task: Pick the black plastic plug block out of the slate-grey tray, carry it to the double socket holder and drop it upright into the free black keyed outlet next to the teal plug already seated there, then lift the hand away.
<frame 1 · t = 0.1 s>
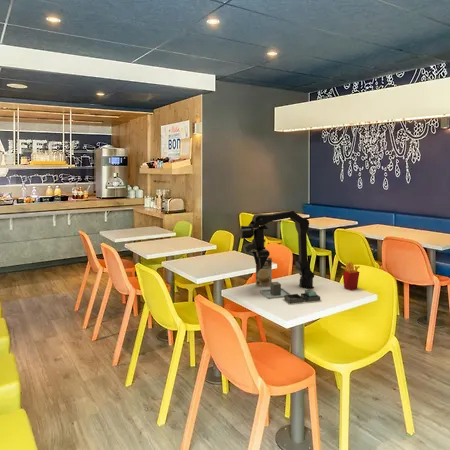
hand: (259, 265, 235), 15 cm above the table, fingers open, 9 cm apart
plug: (275, 294, 230), point 1 cm above the table, touching tray
tray: (275, 295, 230), on the table
double socket holder: (302, 301, 219), on the table
french fries: (348, 288, 241), on the table
coffee box: (263, 286, 248), on the table
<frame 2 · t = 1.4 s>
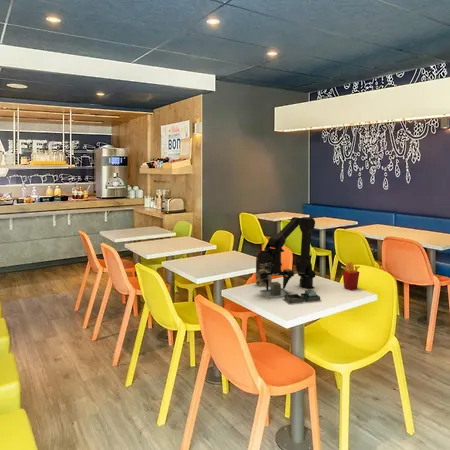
hand: (275, 289, 230), 3 cm above the table, fingers open, 9 cm apart
nothing on the table moved.
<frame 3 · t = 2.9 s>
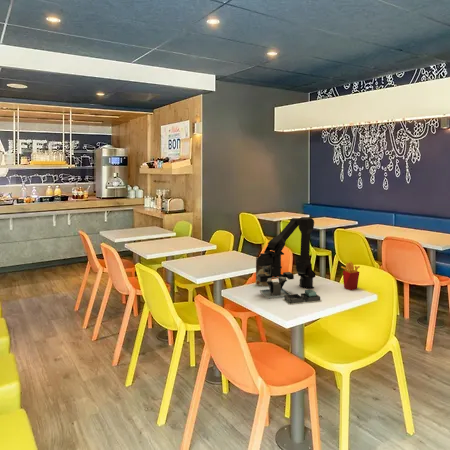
hand: (275, 292, 230), 2 cm above the table, fingers closed on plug, 4 cm apart
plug: (275, 294, 230), point 1 cm above the table, touching gripper, tray
everything else where it was.
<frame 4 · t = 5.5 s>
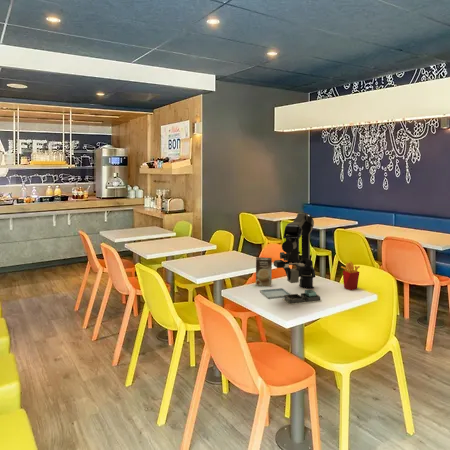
hand: (292, 279, 217), 12 cm above the table, fingers closed on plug, 4 cm apart
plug: (292, 281, 217), point 11 cm above the table, touching gripper
everything else where it was.
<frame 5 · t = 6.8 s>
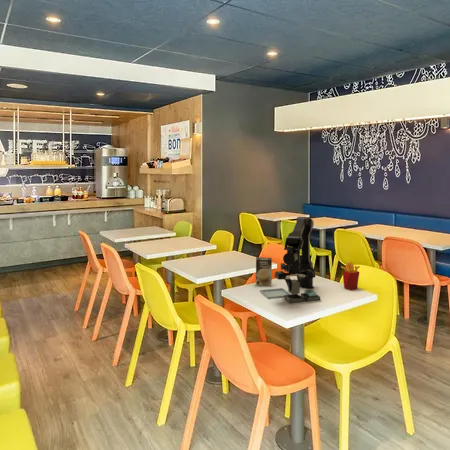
hand: (293, 290, 217), 6 cm above the table, fingers closed on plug, 4 cm apart
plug: (293, 292, 217), point 5 cm above the table, touching gripper
everything else where it was.
when the fingers open (4 cm above the table, at t = 8.1 s): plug drops 2 cm, resting on double socket holder.
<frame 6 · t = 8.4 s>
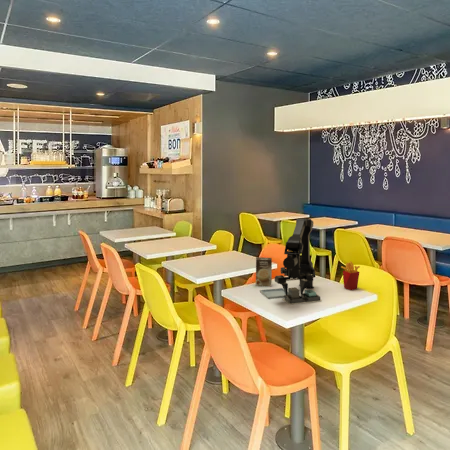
hand: (293, 294, 217), 4 cm above the table, fingers open, 8 cm apart
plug: (293, 300, 218), point 1 cm above the table, touching double socket holder
everything else where it was.
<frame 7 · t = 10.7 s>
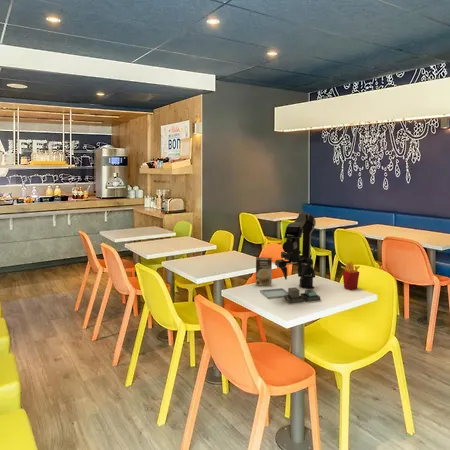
hand: (294, 278, 221), 11 cm above the table, fingers open, 9 cm apart
nothing on the table moved.
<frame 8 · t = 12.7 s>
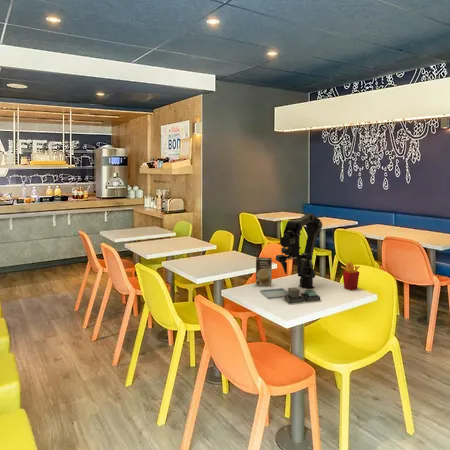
hand: (293, 273, 230), 12 cm above the table, fingers open, 9 cm apart
nothing on the table moved.
at the end: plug 0.0 cm from the target spot on the double socket holder, point 1.0 cm above the double socket holder's base; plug tilted 0°; the gripper is holding nothing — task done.
